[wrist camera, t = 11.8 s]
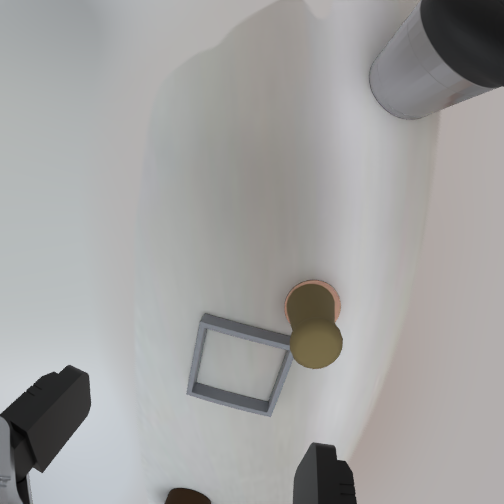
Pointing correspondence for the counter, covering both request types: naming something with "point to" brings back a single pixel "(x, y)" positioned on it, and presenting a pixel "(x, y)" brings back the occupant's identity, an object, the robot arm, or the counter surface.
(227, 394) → the bin frame
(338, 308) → the salmon pink disc
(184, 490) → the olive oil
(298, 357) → the cork
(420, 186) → the counter surface
